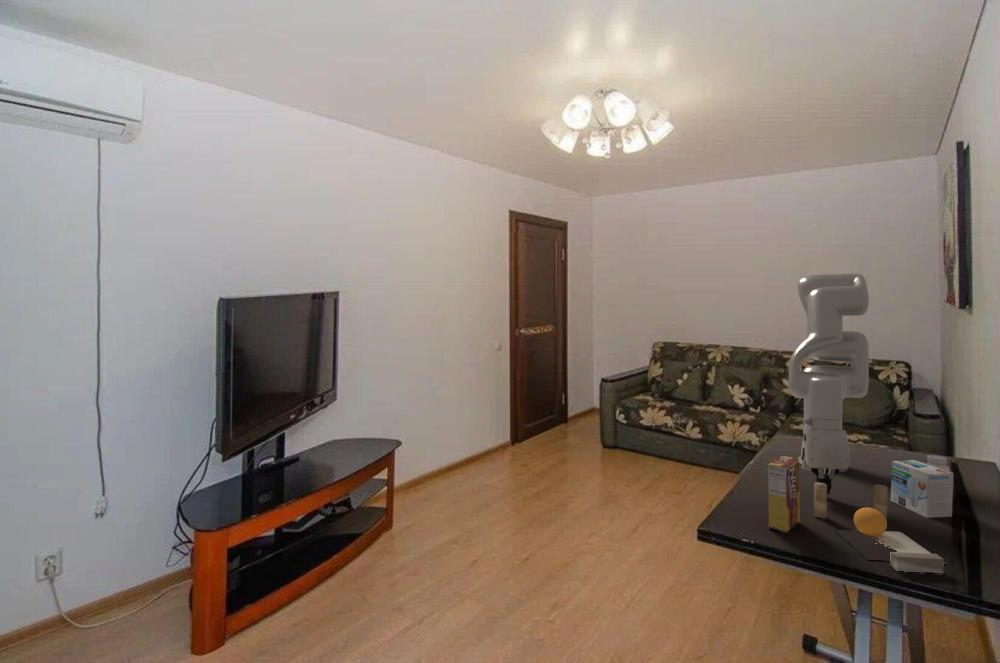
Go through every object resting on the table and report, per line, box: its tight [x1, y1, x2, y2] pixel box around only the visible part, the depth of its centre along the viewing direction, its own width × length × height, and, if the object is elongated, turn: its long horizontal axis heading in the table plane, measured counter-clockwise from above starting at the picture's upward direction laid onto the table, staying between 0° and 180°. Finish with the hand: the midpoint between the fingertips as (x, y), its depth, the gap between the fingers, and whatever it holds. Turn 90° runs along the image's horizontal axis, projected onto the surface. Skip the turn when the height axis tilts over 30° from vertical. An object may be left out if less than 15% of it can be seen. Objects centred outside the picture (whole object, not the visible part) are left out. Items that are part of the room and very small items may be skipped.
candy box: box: [767, 455, 801, 531], centre depth 117 cm, size 9×4×15 cm, turn 133°
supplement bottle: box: [924, 454, 951, 472], centre depth 136 cm, size 5×5×10 cm
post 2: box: [872, 484, 889, 522], centre depth 120 cm, size 3×3×8 cm
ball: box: [853, 507, 888, 536], centre depth 112 cm, size 6×6×6 cm
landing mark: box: [866, 530, 932, 554], centre depth 107 cm, size 14×14×1 cm
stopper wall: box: [889, 552, 945, 574], centre depth 97 cm, size 2×8×3 cm, turn 81°
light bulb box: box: [890, 459, 954, 519], centre depth 126 cm, size 11×7×11 cm, turn 5°
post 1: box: [813, 482, 828, 519], centre depth 122 cm, size 3×3×8 cm
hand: (823, 492), depth 134 cm, fingers closed
